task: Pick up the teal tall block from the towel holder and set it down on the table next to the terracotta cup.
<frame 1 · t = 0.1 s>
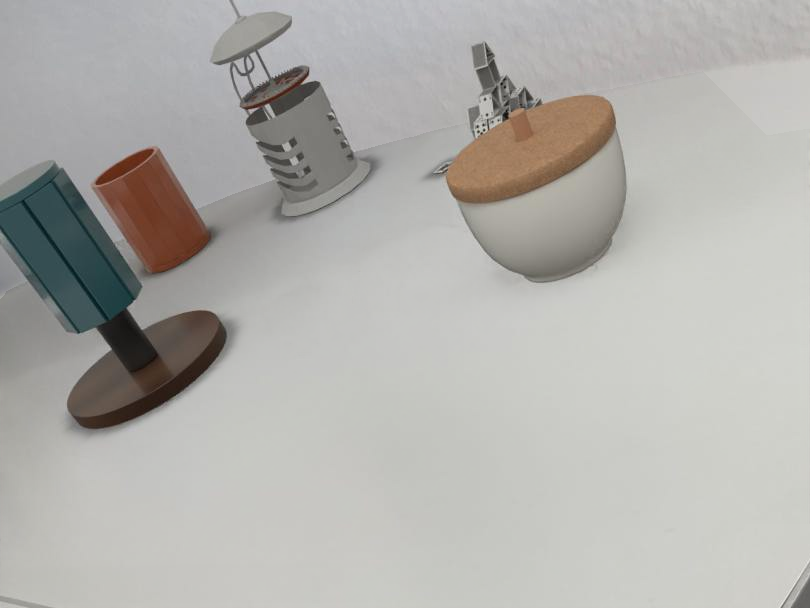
towel holder: (151, 373, 80), on the table
teal tall block: (104, 308, 76), point 6 cm above the table, touching towel holder
terracotta cup: (178, 252, 100), on the table
trinket box: (568, 259, 65), on the table
french press: (322, 190, 96), on the table
house of cards: (493, 141, 86), on the table
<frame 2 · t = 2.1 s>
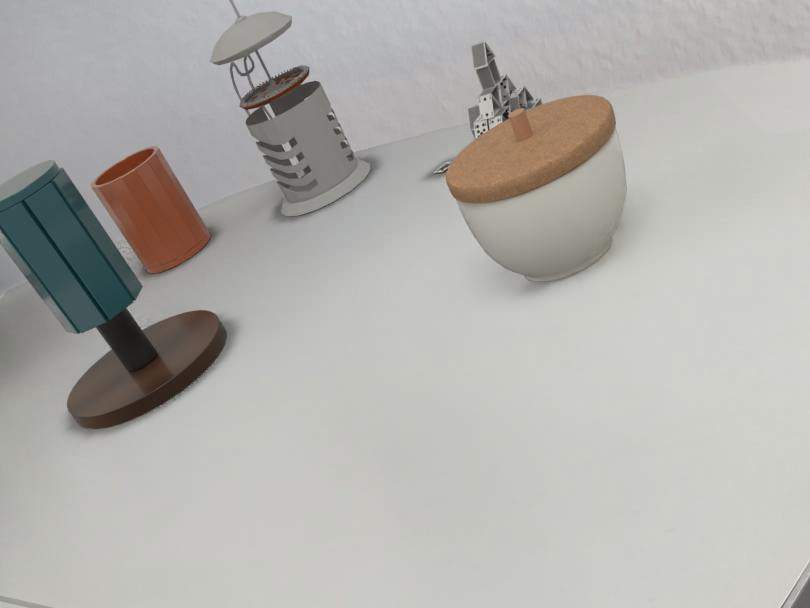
nothing on the table moved.
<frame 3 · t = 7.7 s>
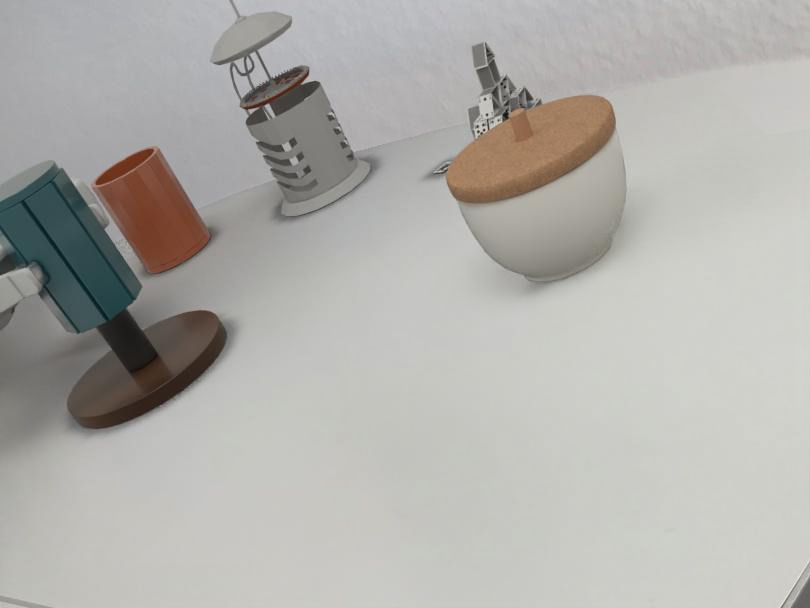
hand: (70, 245, 72), 11 cm above the table, tool horizontal, fingers closed on teal tall block, 7 cm apart
teal tall block: (104, 308, 76), point 6 cm above the table, touching gripper, towel holder
everything else where it was.
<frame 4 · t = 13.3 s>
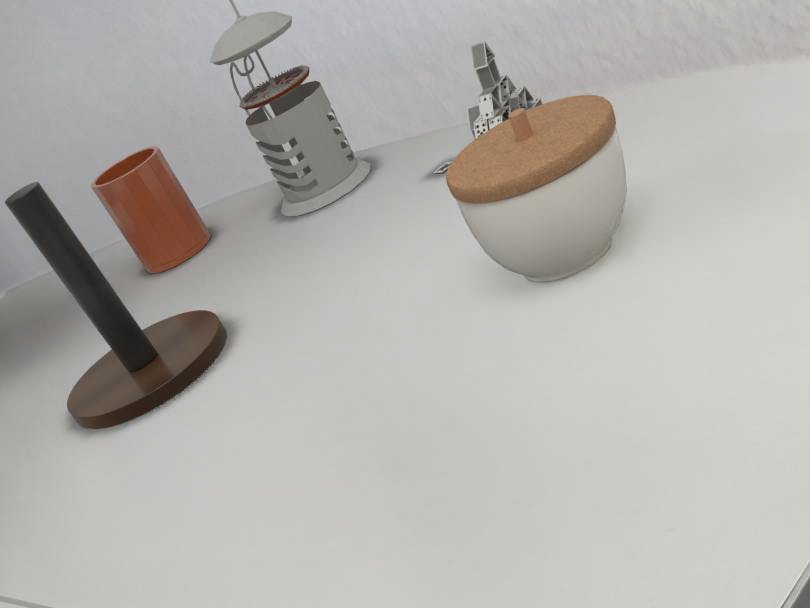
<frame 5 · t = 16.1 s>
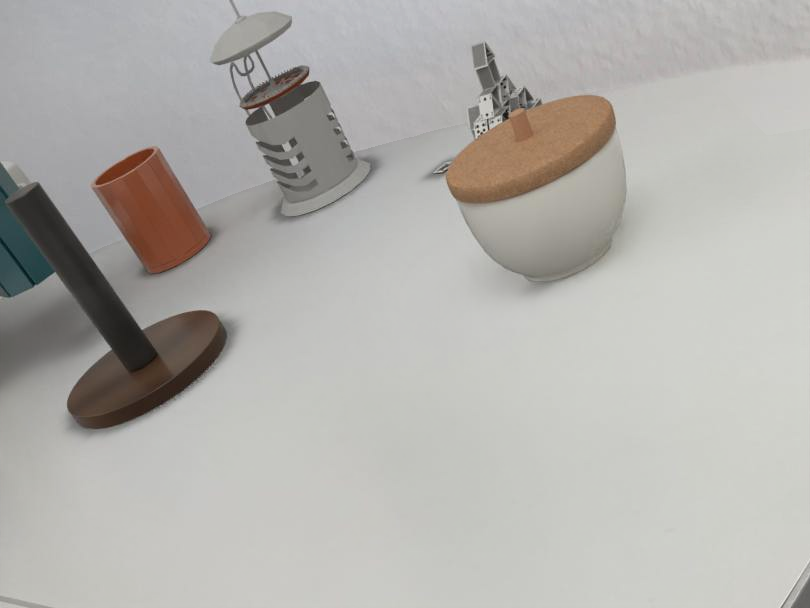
hand: (0, 219, 82), 12 cm above the table, tool horizontal, fingers closed on teal tall block, 7 cm apart
teal tall block: (33, 276, 86), point 7 cm above the table, touching gripper
everything else where it was.
when the fingers open (5 cm above the table, at t = 18.8 s): teal tall block stays where it is, on the table.
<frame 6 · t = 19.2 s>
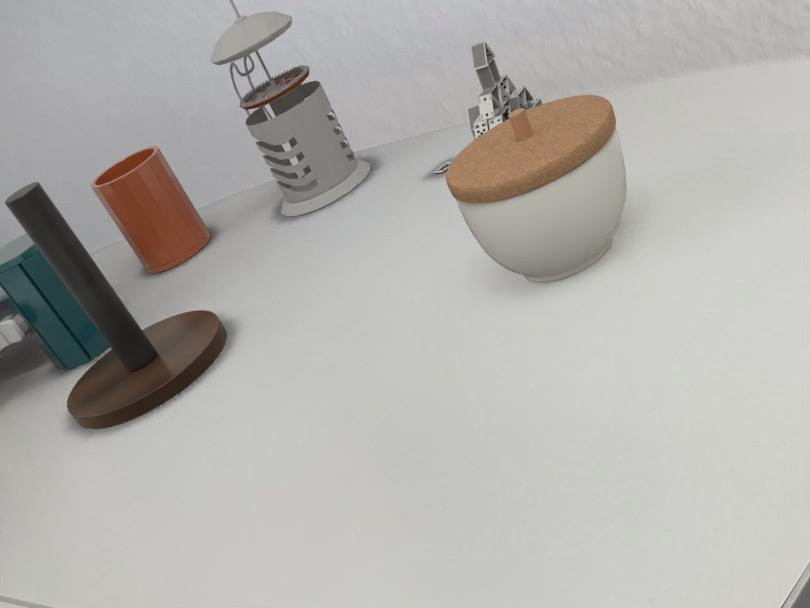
hand: (53, 295, 86), 5 cm above the table, tool horizontal, fingers open, 8 cm apart
teal tall block: (88, 348, 90), on the table
everything else where it was.
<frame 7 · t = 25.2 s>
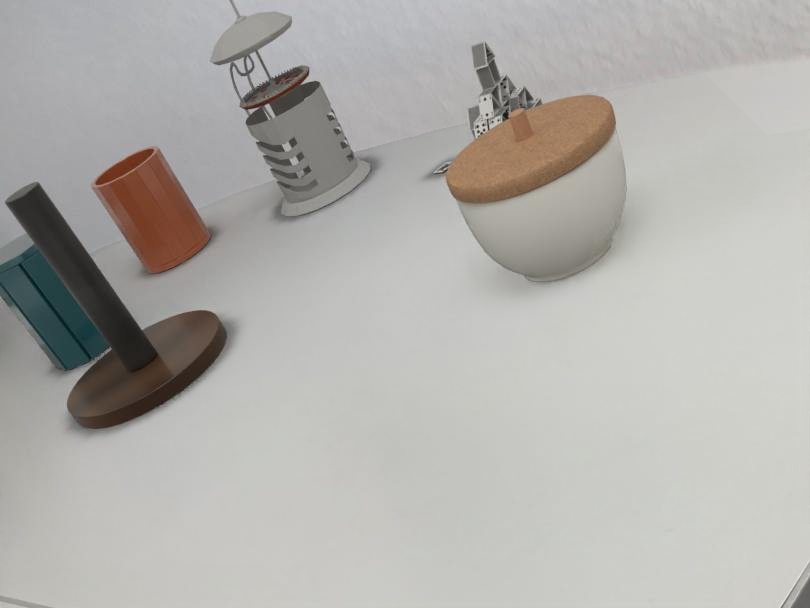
nothing on the table moved.
at the end: teal tall block inside the target area (0.2 cm from its centre), on the table; teal tall block 16.6 cm from the terracotta cup (horizontally); teal tall block tilted 0° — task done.
